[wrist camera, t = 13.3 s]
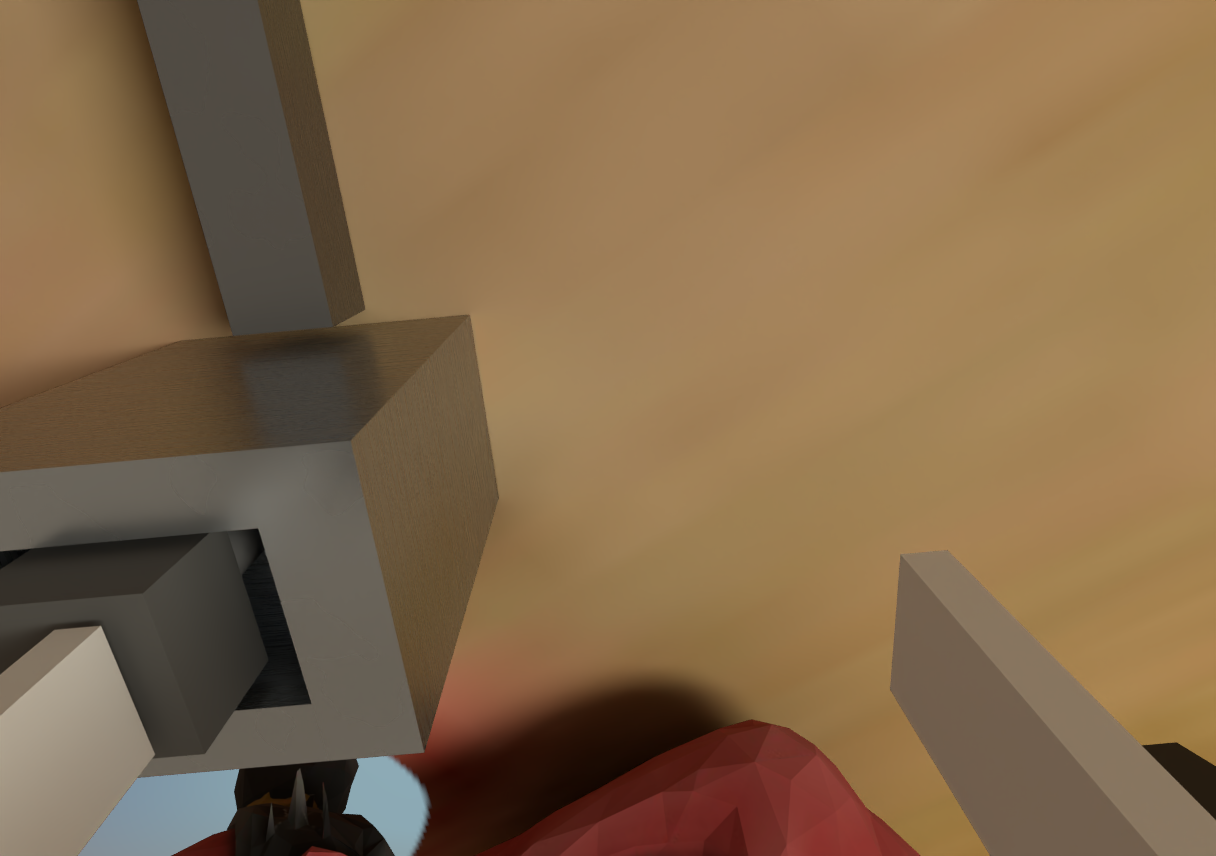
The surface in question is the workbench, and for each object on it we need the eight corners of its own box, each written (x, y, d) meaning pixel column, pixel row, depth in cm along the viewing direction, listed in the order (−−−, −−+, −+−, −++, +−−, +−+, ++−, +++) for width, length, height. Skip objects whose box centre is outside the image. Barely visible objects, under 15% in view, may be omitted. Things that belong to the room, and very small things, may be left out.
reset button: (148, 473, 16) (-66, 611, 11) (289, 460, 16) (143, 593, 11) (191, 593, 17) (17, 770, 12) (322, 581, 17) (204, 754, 12)
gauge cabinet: (168, 341, 23) (-249, 494, 11) (469, 314, 23) (350, 440, 11) (226, 522, 25) (-71, 796, 14) (498, 497, 25) (423, 752, 14)
